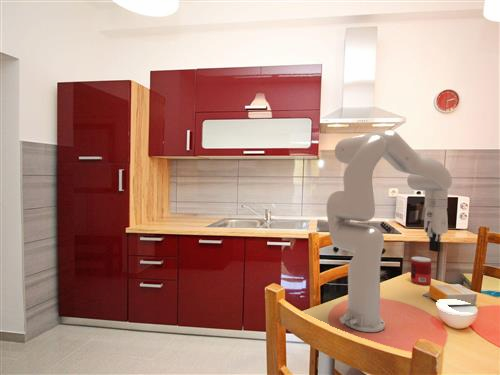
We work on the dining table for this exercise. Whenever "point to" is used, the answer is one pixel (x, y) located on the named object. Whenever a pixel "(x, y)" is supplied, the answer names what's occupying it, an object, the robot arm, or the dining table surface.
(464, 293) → the supplement box
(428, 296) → the grey rubber mat
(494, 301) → the dining table surface
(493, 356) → the dining table surface
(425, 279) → the canned food
